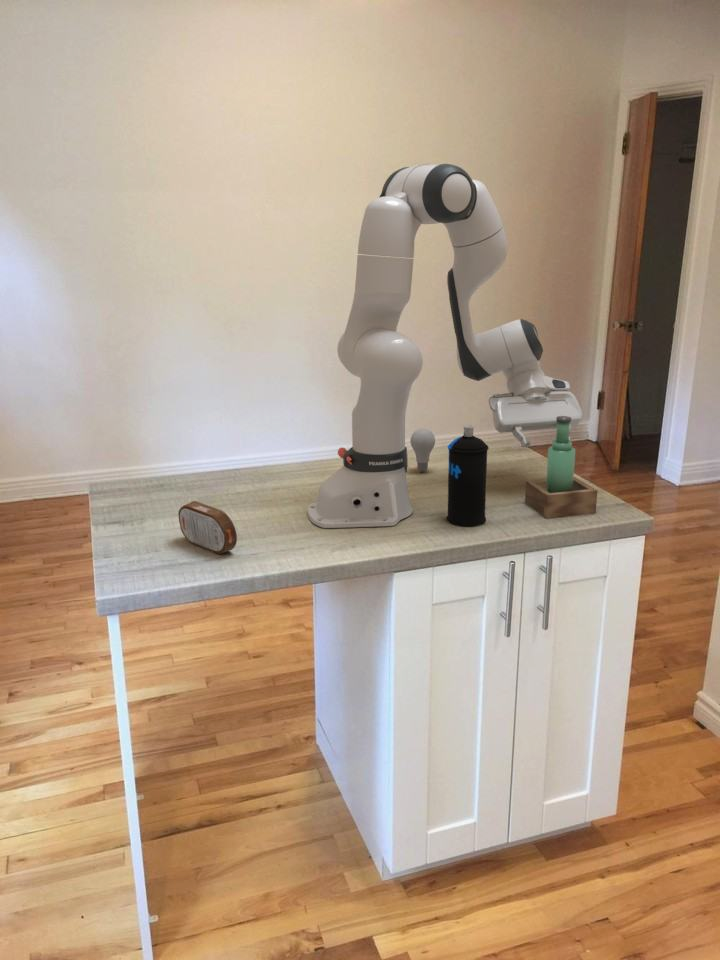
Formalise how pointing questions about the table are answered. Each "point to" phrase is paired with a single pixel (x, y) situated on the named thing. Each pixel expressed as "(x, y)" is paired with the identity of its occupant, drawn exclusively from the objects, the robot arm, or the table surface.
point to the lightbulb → (422, 447)
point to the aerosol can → (467, 480)
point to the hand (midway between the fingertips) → (546, 444)
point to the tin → (207, 527)
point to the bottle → (561, 459)
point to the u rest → (562, 500)
